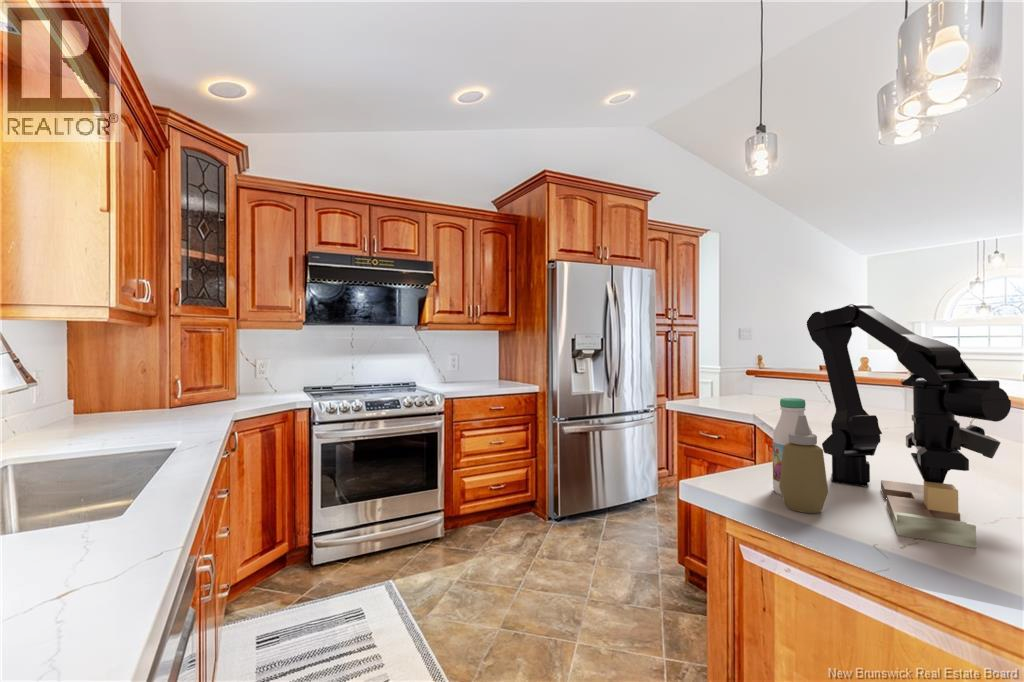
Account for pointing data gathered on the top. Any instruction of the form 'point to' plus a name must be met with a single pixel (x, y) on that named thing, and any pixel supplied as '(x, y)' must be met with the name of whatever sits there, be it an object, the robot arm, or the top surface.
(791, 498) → the squeeze bottle
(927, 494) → the block
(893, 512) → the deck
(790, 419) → the milk bottle
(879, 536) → the top surface
